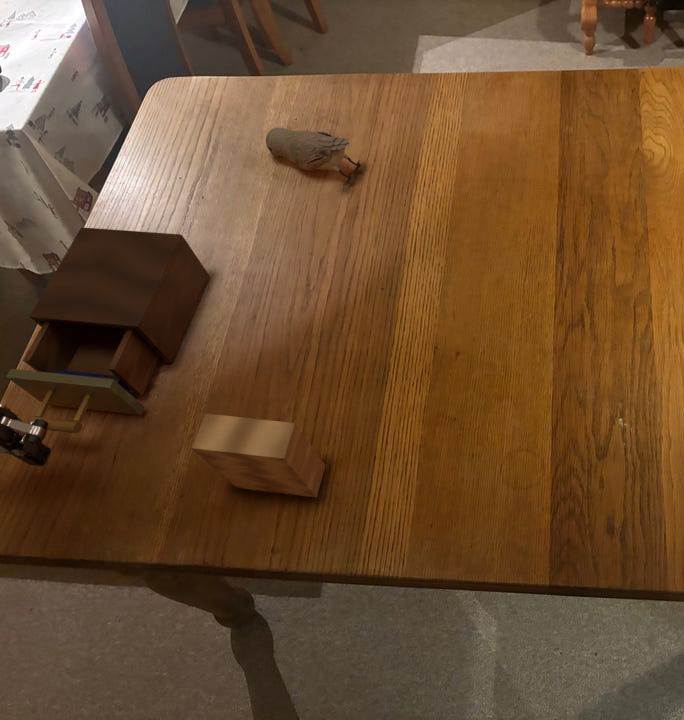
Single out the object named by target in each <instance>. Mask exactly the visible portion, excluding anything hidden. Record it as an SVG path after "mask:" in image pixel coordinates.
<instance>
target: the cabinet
mask: <svg viewBox="0 0 684 720" xmlns="http://www.w3.org/2000/svg"><path fill="white" fill-rule="evenodd" d="M210 278H211V276H210V274H209V273H208V270H206V268H205V267H204V265H203V264H202V261H201V260H200V259H199V258H198V256H197V255H196V254H195V252H194V250H193V249H192V247H191V245H190V244H189V243H188V242H187V240H186V238H185V236H183V234H180V233H167V232H166V233H165V232H154V231H139V230H125V229H124V230H123V229H111V228H97V227H80V229H79V230H78V232H77V234H76V236H75V237H74V238H73V241H72V242H71V243H70V246H69V247H68V249H67V251H66V252H65V255H64V256H63V257H62V259H61V261H60V263H59V265H58V266H57V268H56V269H55V271H54V273H53V275H52V277H51V278H50V280H49V281H48V283H47V285H46V286H45V288H44V290H43V291H42V294H41V295H40V297H39V299H38V300H37V302H36V304H35V306H34V308H32V310H31V313H30V314H29V315H28V316H29V318H30V319H31V320H33V321H34V322H35V323H36V324H37V325H38V326H39V327H40V328H41V327H42V326H43V324H44V322H45V321H50V322H61V323H72V324H83V325H94V326H105V327H116V328H127V329H136V331H137V332H138V333H139V334H140V335H141V336H142V337H143V338H144V339H145V340H146V341H147V342H148V343H149V345H150V346H151V347H152V348H153V349H154V350H155V351H156V352H157V353H158V354H159V355H160V358H159V360H158V362H157V364H158V363H159V364H168V365H173V364H174V362H175V359H176V356H177V354H178V352H179V350H180V348H181V346H182V343H183V341H184V338H185V336H186V335H187V331H188V330H189V327H190V324H191V322H192V320H193V318H194V315H195V313H196V312H197V311H196V310H197V308H198V306H199V304H200V302H201V299H202V297H203V295H204V293H205V290H206V287H207V286H208V283H209V281H210Z"/></svg>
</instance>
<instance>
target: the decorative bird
mask: <svg viewBox="0 0 684 720" xmlns="http://www.w3.org/2000/svg"><path fill="white" fill-rule="evenodd" d="M350 140H351V139H350V138H346V137H339V136H334V135H332V134H330V133H328V132H324V131H312V130H292V129H288V128H285V127H273V128H271V129H270V130H269V131H268V132H267V134H266V136H265V144H266V148H267V149H268V151H269V152H270V154H271V155H272V156H274V157H279V156H284V157H287V159H288V160H289V161H291V162H292V163H294V164H296V165H297V166H298V167H299V168H301V169H302V170H304V171H313V170H321V171H323V170H328V171H332V170H333V171H335V172H338V173H340V174H341V175H342V176H343V177H345V178H347V180H346V182H345V185H347V184H348V185H350V181H351V180H353V176H352V175H351V174H352V172H349V174H348V175H347V174H345V173H344V172H343V171H342V170H341V168H339V166H340V165H341V164H342V162H343V159H345V160H347V161H349V162H350V163H351V164H353V165H354V166H356V167H355V168H354V172H353V174H354V175H356V172H357V173H359V169H360V168H362V166H361V165H362V164H361V163H360V162H361V160H358V161H357V163H356V162H354V161H353V160H352V159H351V158H350V157H349V156H348V155H347V154H346V153H345V150H346V149H347V146H348V145H350V142H349V141H350Z"/></svg>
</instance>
